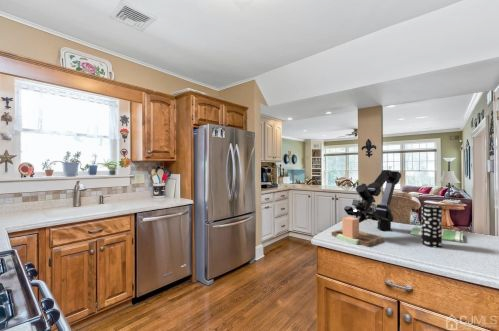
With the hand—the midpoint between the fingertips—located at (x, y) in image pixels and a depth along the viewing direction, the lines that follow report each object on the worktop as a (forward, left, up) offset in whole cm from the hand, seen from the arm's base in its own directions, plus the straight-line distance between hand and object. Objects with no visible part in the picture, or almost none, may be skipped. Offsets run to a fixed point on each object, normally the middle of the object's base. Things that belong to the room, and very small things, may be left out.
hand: (354, 224), depth 132 cm
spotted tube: (-35, +10, -8) cm, 38 cm away
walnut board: (-2, -1, -8) cm, 8 cm away
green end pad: (+5, +3, -8) cm, 10 cm away
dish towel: (-50, -6, -9) cm, 51 cm away
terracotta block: (+3, +2, -6) cm, 7 cm away
